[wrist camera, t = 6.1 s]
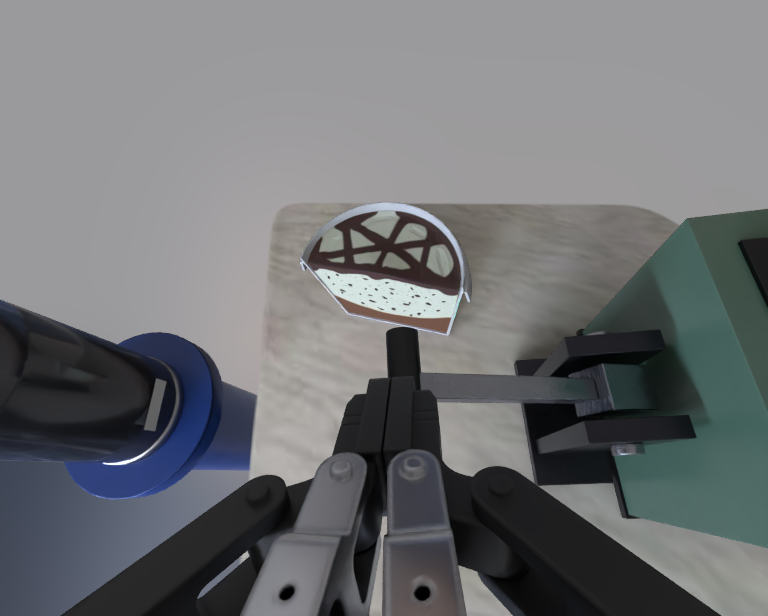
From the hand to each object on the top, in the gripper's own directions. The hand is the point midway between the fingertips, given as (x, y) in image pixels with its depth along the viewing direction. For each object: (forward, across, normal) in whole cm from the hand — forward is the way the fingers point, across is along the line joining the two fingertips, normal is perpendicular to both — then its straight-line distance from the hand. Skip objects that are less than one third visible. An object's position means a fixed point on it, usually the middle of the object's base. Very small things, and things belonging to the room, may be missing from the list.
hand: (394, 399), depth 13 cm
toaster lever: (+6, -5, +4) cm, 8 cm away
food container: (+22, +1, +4) cm, 23 cm away
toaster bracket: (+14, -10, +13) cm, 21 cm away
